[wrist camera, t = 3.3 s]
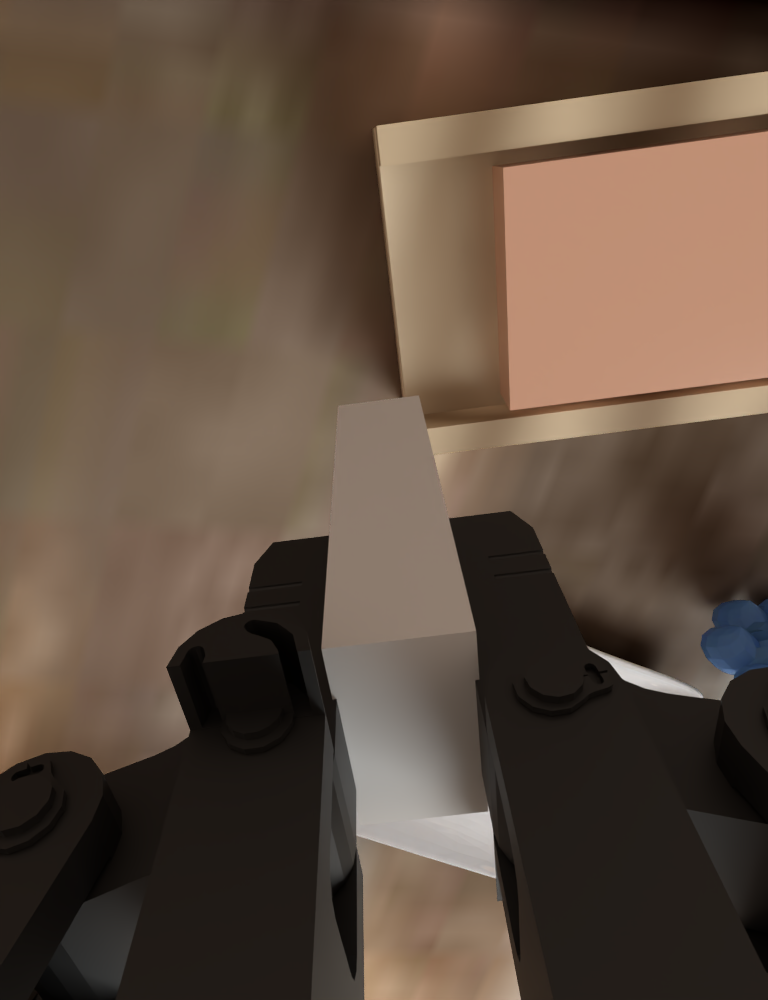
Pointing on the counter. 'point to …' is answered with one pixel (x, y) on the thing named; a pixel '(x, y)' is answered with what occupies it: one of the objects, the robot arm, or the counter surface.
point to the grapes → (738, 637)
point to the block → (632, 269)
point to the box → (471, 254)
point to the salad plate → (472, 833)
